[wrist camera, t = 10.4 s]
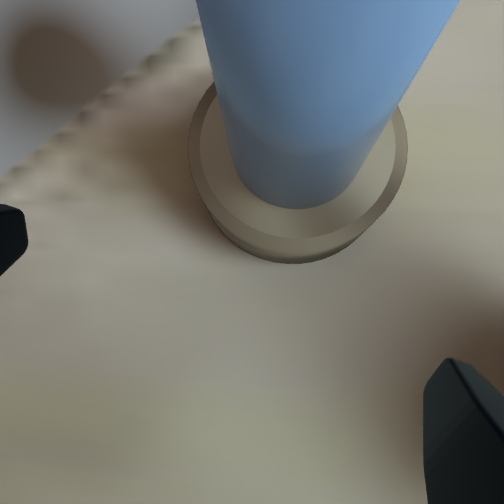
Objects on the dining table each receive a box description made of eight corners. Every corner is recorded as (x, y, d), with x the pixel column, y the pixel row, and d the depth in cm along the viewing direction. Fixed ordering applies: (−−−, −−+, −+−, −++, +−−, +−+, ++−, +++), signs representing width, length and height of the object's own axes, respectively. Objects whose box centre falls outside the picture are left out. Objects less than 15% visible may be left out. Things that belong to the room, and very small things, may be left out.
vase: (292, 236, 16) (403, -169, 3) (204, 141, 17) (-34, -514, 4) (391, 149, 16) (893, -561, 3) (300, 61, 17) (401, -786, 4)
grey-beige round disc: (285, 303, 19) (289, 298, 15) (165, 168, 20) (143, 136, 17) (422, 179, 20) (455, 148, 16) (297, 58, 21) (302, 6, 18)
